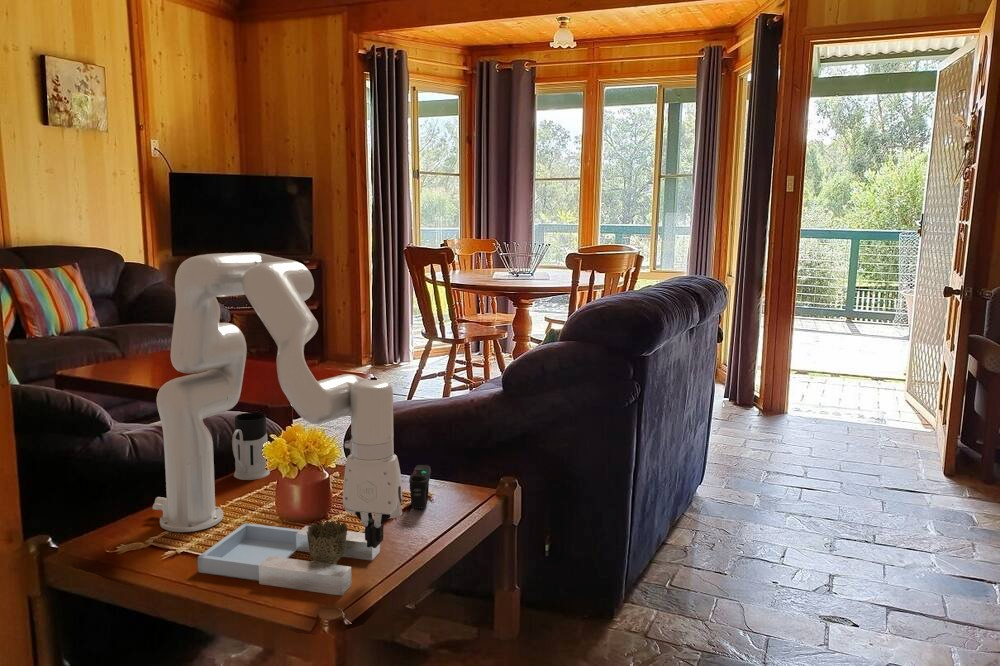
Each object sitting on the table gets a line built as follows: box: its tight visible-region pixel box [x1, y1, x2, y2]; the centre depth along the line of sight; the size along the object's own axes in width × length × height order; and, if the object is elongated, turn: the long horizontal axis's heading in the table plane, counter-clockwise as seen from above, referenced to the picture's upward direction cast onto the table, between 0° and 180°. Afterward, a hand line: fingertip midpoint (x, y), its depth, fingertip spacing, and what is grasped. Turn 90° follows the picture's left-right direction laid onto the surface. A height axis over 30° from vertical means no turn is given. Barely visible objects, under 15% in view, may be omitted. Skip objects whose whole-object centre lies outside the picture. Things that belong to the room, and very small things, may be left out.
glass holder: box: [231, 412, 271, 481], centre depth 187 cm, size 9×14×15 cm, turn 174°
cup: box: [307, 520, 348, 565], centre depth 142 cm, size 8×7×8 cm
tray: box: [197, 522, 301, 582], centre depth 145 cm, size 13×16×3 cm
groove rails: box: [258, 525, 381, 597], centre depth 142 cm, size 16×18×4 cm
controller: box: [408, 464, 432, 509], centre depth 173 cm, size 4×12×10 cm, turn 0°
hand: (374, 544), depth 139 cm, fingers closed
